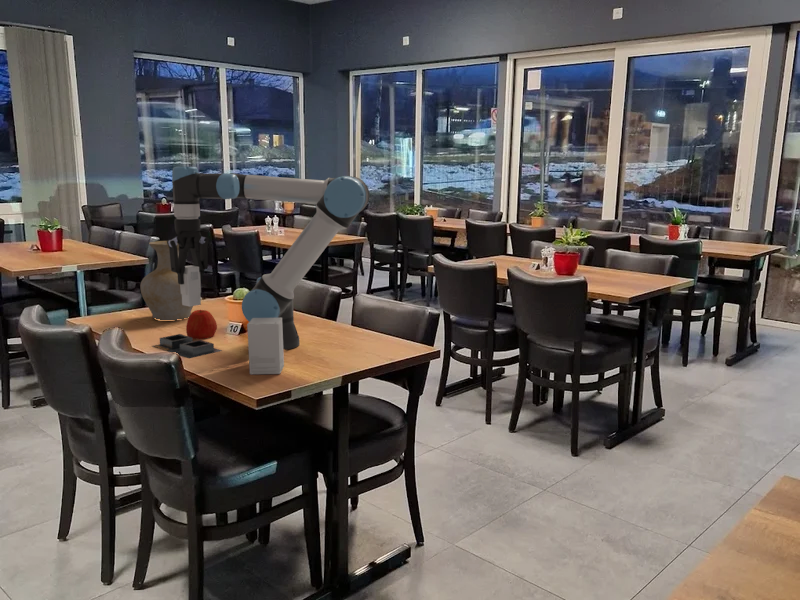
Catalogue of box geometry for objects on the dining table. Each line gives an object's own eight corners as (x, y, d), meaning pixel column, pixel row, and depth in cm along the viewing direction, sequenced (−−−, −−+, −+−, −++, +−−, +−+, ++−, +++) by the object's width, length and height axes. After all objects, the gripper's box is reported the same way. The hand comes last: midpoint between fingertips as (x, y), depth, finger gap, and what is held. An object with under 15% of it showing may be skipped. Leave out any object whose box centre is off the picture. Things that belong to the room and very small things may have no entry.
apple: (223, 337, 233) (221, 308, 231) (203, 344, 224) (201, 313, 222) (200, 334, 237) (198, 305, 235) (179, 340, 228) (177, 311, 226)
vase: (187, 310, 279) (183, 238, 273) (209, 318, 262) (206, 242, 256) (134, 316, 265) (129, 241, 259) (154, 326, 248) (148, 246, 243)
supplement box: (284, 365, 199) (283, 316, 196) (280, 374, 190) (279, 323, 188) (254, 365, 199) (252, 317, 196) (248, 374, 190) (246, 323, 187)
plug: (202, 305, 207) (200, 266, 205) (191, 306, 204) (189, 268, 202) (193, 303, 210) (191, 265, 208) (182, 304, 207) (180, 266, 205)
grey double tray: (222, 354, 211) (222, 343, 210) (189, 362, 202) (188, 350, 202) (184, 342, 225) (183, 332, 225) (151, 349, 216) (150, 338, 216)
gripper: (204, 216, 211) (207, 288, 216) (154, 218, 198) (159, 295, 203) (218, 217, 207) (221, 291, 211) (168, 219, 194) (173, 298, 198)
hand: (190, 293), depth 207 cm, fingers closed on plug, 4 cm apart
